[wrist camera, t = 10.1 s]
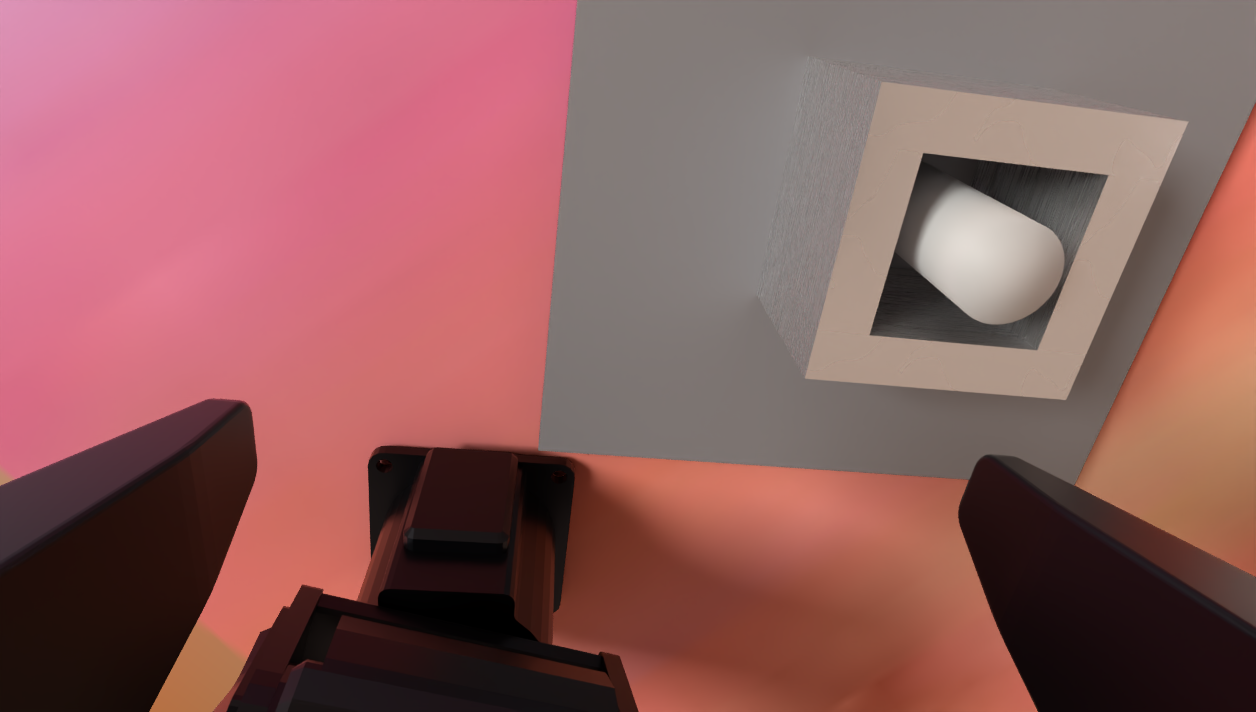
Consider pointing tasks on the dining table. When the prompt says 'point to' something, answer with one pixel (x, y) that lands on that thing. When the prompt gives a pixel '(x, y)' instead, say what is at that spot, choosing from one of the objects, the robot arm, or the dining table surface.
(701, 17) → the post plate
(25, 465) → the dining table surface
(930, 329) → the grey hollow square block
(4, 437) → the dining table surface
